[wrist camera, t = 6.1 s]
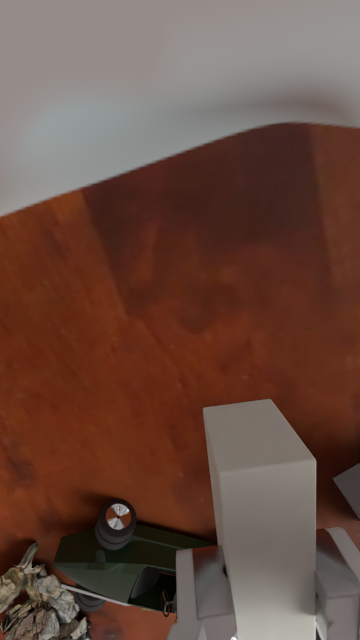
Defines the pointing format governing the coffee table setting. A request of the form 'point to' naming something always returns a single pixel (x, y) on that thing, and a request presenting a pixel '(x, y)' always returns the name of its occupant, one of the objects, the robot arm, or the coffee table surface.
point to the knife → (264, 518)
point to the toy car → (123, 562)
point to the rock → (39, 605)
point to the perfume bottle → (350, 487)
